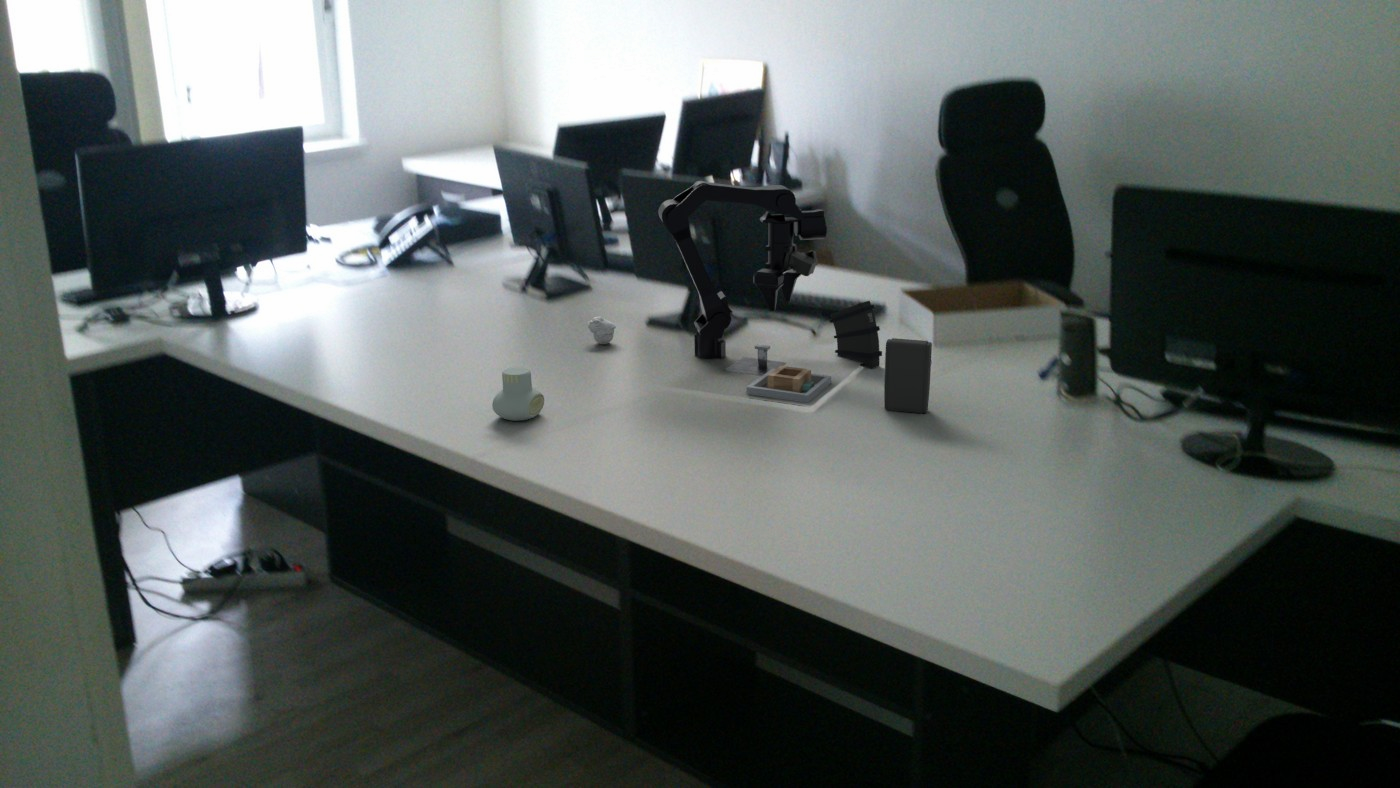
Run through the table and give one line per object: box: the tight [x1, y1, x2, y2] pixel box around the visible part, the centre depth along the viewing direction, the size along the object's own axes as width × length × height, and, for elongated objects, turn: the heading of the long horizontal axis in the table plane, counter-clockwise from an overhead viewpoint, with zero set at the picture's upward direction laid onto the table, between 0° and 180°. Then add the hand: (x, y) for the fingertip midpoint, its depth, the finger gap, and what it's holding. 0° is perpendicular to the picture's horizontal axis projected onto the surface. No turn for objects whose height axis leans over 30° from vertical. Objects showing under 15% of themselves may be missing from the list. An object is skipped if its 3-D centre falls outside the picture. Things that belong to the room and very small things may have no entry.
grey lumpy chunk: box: [587, 316, 617, 345], centre depth 296 cm, size 6×7×7 cm
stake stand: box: [723, 344, 787, 377], centre depth 274 cm, size 11×11×6 cm
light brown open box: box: [767, 365, 815, 393], centre depth 259 cm, size 7×9×4 cm
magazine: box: [829, 300, 883, 370], centre depth 278 cm, size 4×13×15 cm, turn 40°
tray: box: [746, 368, 832, 407], centre depth 259 cm, size 14×14×2 cm
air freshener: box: [492, 366, 545, 422], centre depth 247 cm, size 11×8×10 cm
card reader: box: [883, 337, 933, 414], centre depth 246 cm, size 9×4×15 cm, turn 71°
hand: (780, 306), depth 282 cm, fingers open, 9 cm apart
